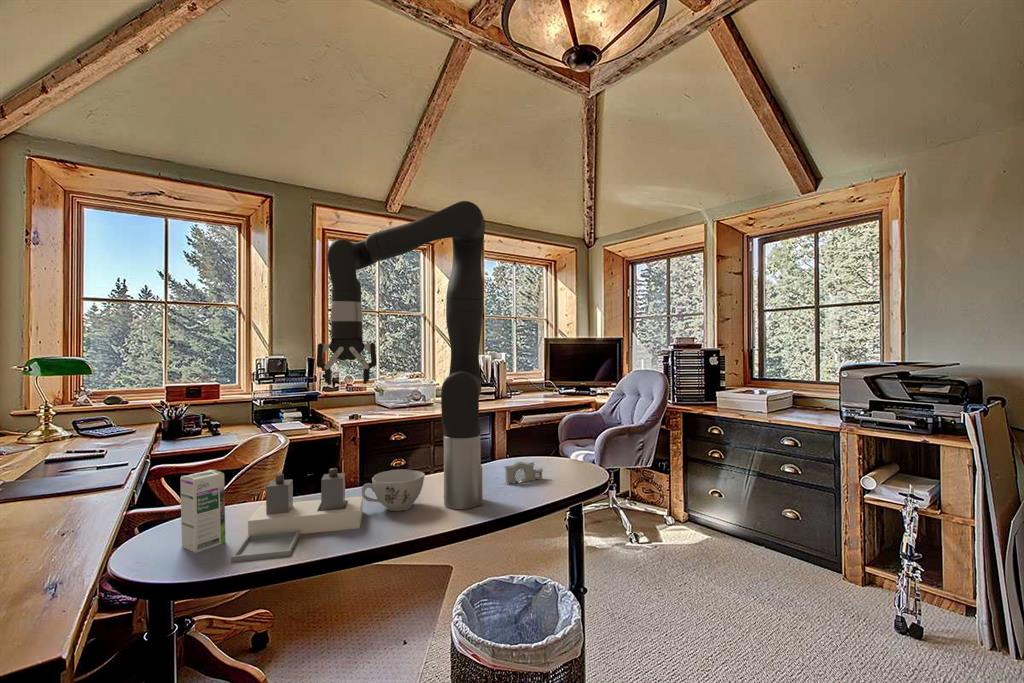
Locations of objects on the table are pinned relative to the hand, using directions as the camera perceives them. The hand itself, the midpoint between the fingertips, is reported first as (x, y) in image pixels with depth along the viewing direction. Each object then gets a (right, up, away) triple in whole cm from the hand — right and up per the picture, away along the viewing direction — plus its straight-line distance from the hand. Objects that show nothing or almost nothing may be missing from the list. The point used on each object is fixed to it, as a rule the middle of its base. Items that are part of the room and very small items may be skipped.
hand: (347, 384), depth 120 cm
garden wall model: (+45, -30, +17) cm, 57 cm away
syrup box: (-20, -31, -25) cm, 44 cm away
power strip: (-3, -30, -15) cm, 34 cm away
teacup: (+13, -30, -4) cm, 33 cm away
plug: (+2, -30, -13) cm, 32 cm away
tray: (-7, -30, -26) cm, 41 cm away
